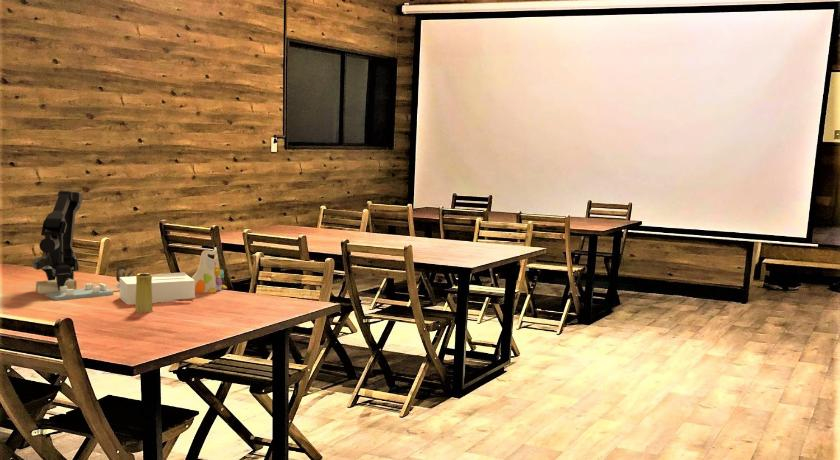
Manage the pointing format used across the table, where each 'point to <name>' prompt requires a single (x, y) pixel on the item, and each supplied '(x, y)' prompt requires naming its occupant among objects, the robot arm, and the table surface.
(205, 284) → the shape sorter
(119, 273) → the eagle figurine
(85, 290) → the jig
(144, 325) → the table surface
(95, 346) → the table surface
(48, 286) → the beam with grey square
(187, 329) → the table surface
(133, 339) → the table surface
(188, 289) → the tissue box
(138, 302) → the vase
